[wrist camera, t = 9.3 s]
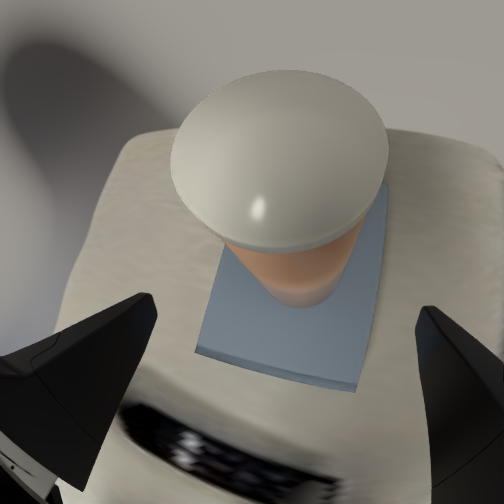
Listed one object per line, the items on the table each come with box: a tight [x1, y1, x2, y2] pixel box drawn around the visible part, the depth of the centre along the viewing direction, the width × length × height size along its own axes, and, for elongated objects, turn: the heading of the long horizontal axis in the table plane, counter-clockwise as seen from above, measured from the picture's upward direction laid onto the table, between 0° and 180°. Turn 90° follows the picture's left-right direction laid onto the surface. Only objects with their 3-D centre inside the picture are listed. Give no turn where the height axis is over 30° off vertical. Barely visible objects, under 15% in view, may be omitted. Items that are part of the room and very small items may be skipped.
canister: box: [170, 70, 389, 308], centre depth 13 cm, size 6×6×13 cm
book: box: [195, 183, 388, 393], centre depth 20 cm, size 15×11×3 cm
